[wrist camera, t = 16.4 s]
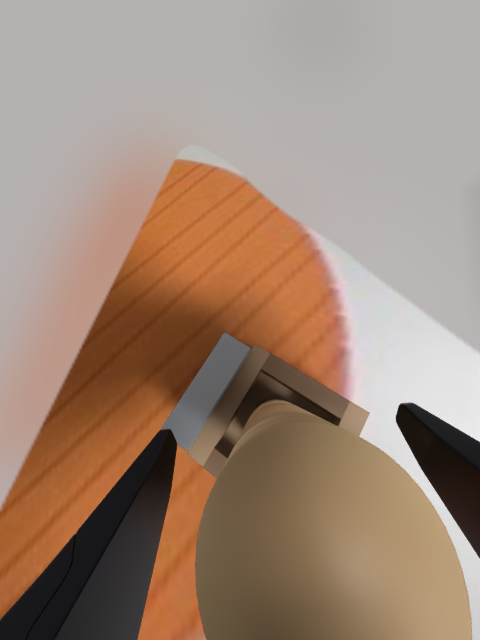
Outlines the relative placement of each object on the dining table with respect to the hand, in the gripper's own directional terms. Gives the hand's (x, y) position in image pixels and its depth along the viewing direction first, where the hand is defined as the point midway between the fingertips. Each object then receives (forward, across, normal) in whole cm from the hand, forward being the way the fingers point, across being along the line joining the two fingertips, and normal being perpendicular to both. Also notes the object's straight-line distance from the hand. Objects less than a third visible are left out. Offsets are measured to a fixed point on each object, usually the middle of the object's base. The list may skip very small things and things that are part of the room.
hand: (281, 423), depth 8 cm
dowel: (+5, 0, +7) cm, 8 cm away
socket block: (+6, 0, +7) cm, 9 cm away
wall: (+8, +4, +5) cm, 10 cm away
